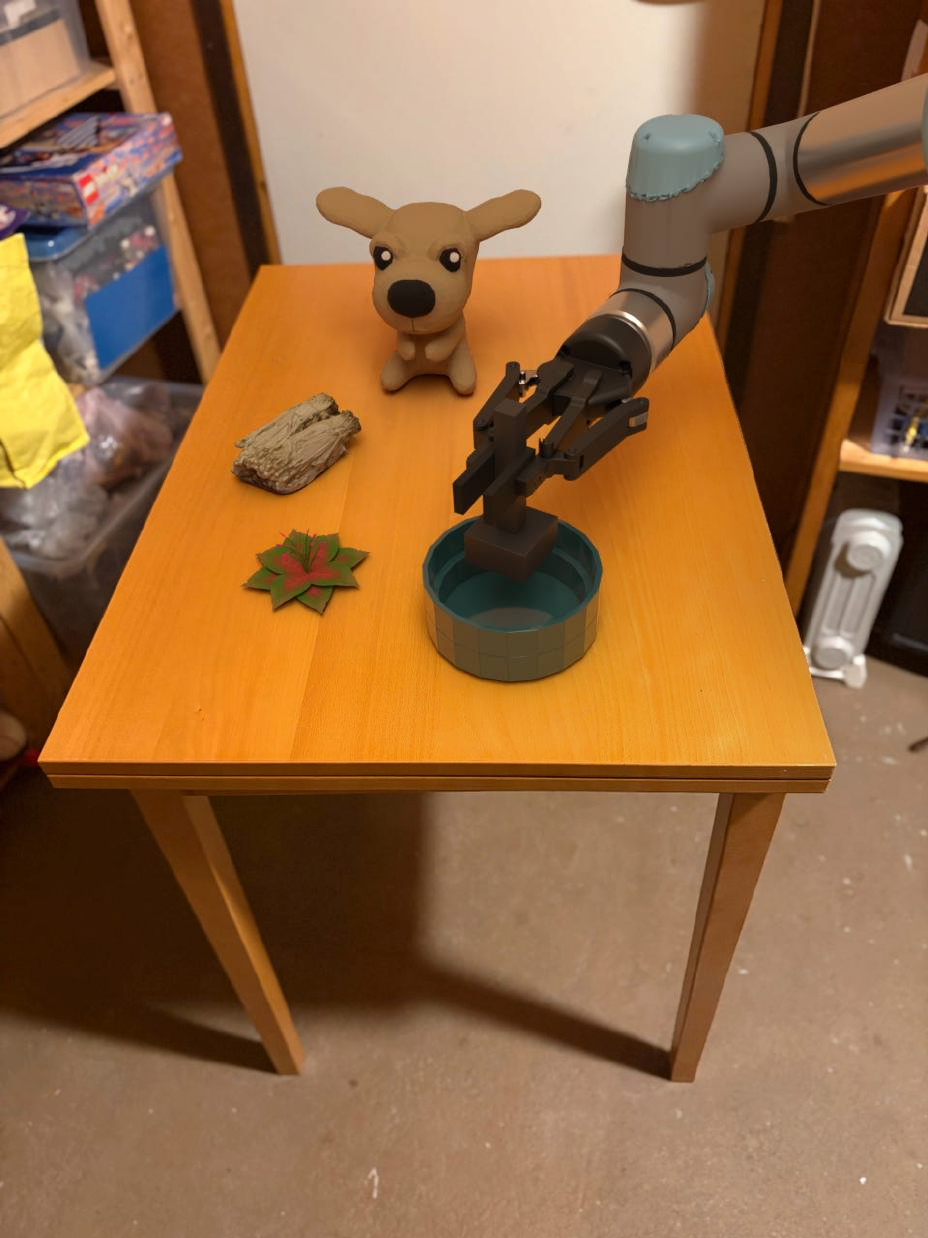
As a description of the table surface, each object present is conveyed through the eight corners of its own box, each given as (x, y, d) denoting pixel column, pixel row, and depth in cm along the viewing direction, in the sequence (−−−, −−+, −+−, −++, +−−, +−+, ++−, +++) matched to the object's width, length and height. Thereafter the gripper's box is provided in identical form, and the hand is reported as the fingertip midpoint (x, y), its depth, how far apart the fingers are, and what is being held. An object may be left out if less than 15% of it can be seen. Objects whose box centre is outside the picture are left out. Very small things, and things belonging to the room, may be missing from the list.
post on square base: (557, 544, 77) (562, 397, 67) (524, 584, 74) (525, 437, 64) (499, 523, 79) (496, 378, 69) (464, 561, 76) (456, 416, 66)
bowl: (625, 598, 84) (631, 543, 79) (547, 711, 75) (549, 657, 70) (483, 545, 90) (481, 492, 85) (395, 645, 81) (387, 591, 76)
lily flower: (393, 552, 90) (388, 515, 86) (327, 634, 82) (320, 597, 79) (290, 521, 94) (281, 484, 90) (218, 597, 86) (206, 560, 83)
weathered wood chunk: (310, 417, 107) (303, 376, 103) (372, 445, 102) (367, 402, 98) (215, 480, 99) (203, 437, 95) (278, 512, 95) (268, 469, 91)
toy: (313, 412, 107) (281, 241, 93) (353, 328, 121) (331, 168, 107) (527, 423, 104) (528, 247, 90) (544, 336, 117) (547, 170, 103)
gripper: (688, 413, 80) (562, 576, 67) (536, 372, 86) (393, 513, 73) (700, 334, 75) (566, 493, 61) (537, 295, 81) (382, 433, 67)
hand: (472, 504), depth 67 cm, fingers closed on post on square base, 2 cm apart
